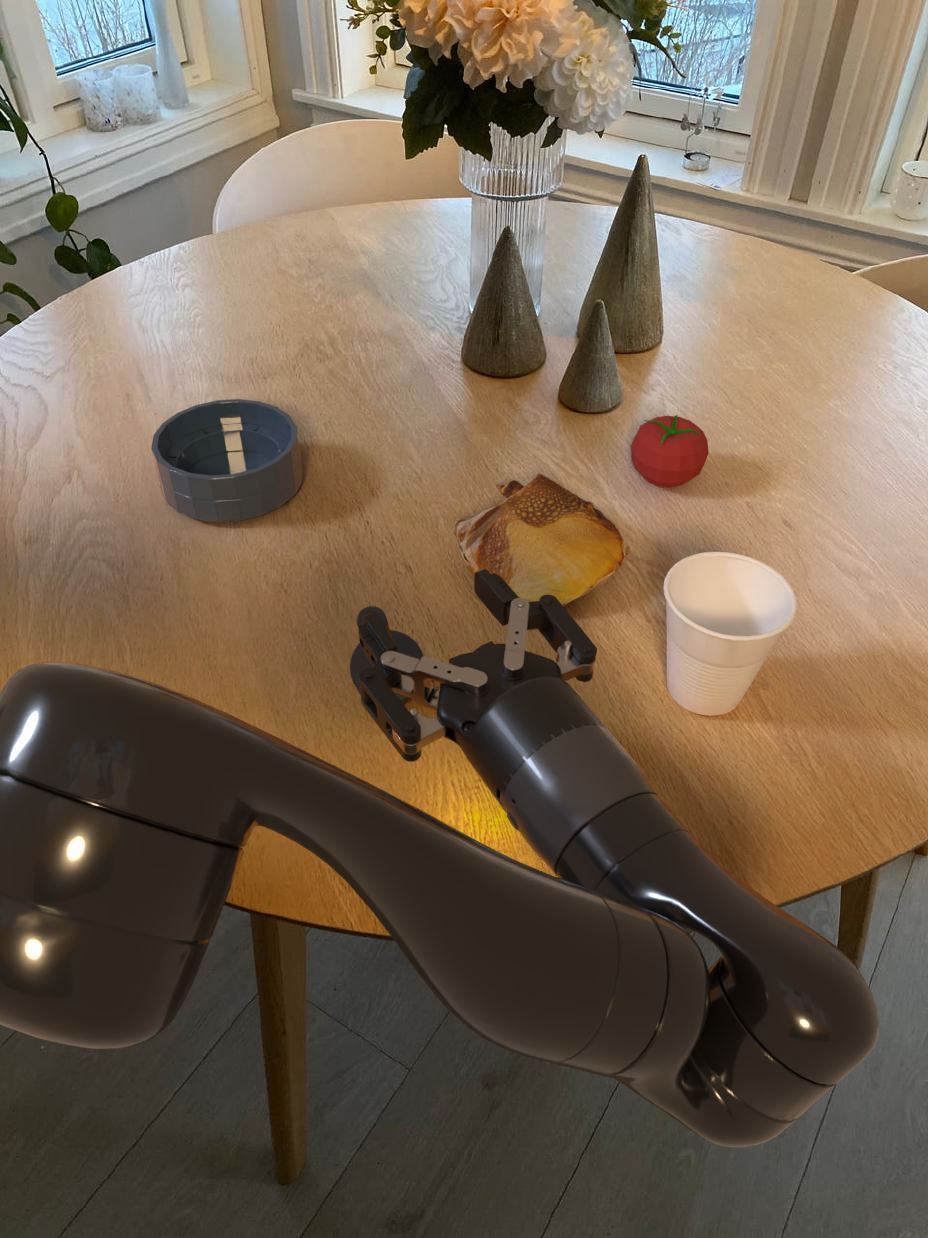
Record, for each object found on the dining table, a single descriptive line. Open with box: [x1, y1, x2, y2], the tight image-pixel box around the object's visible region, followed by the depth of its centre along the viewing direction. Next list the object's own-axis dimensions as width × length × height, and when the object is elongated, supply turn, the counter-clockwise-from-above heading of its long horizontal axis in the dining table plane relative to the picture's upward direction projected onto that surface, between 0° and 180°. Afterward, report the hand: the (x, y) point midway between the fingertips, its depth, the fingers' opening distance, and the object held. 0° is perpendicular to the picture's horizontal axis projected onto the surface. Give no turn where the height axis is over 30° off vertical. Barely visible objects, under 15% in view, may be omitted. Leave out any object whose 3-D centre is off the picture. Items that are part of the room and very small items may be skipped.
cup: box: [663, 551, 798, 717], centre depth 76 cm, size 10×10×11 cm
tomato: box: [630, 414, 710, 488], centre depth 99 cm, size 8×8×8 cm
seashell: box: [452, 473, 631, 607], centre depth 90 cm, size 17×8×15 cm
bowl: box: [150, 398, 304, 523], centre depth 97 cm, size 14×14×6 cm
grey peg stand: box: [349, 605, 424, 706], centre depth 71 cm, size 6×6×16 cm
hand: (423, 600), depth 64 cm, fingers open, 8 cm apart
